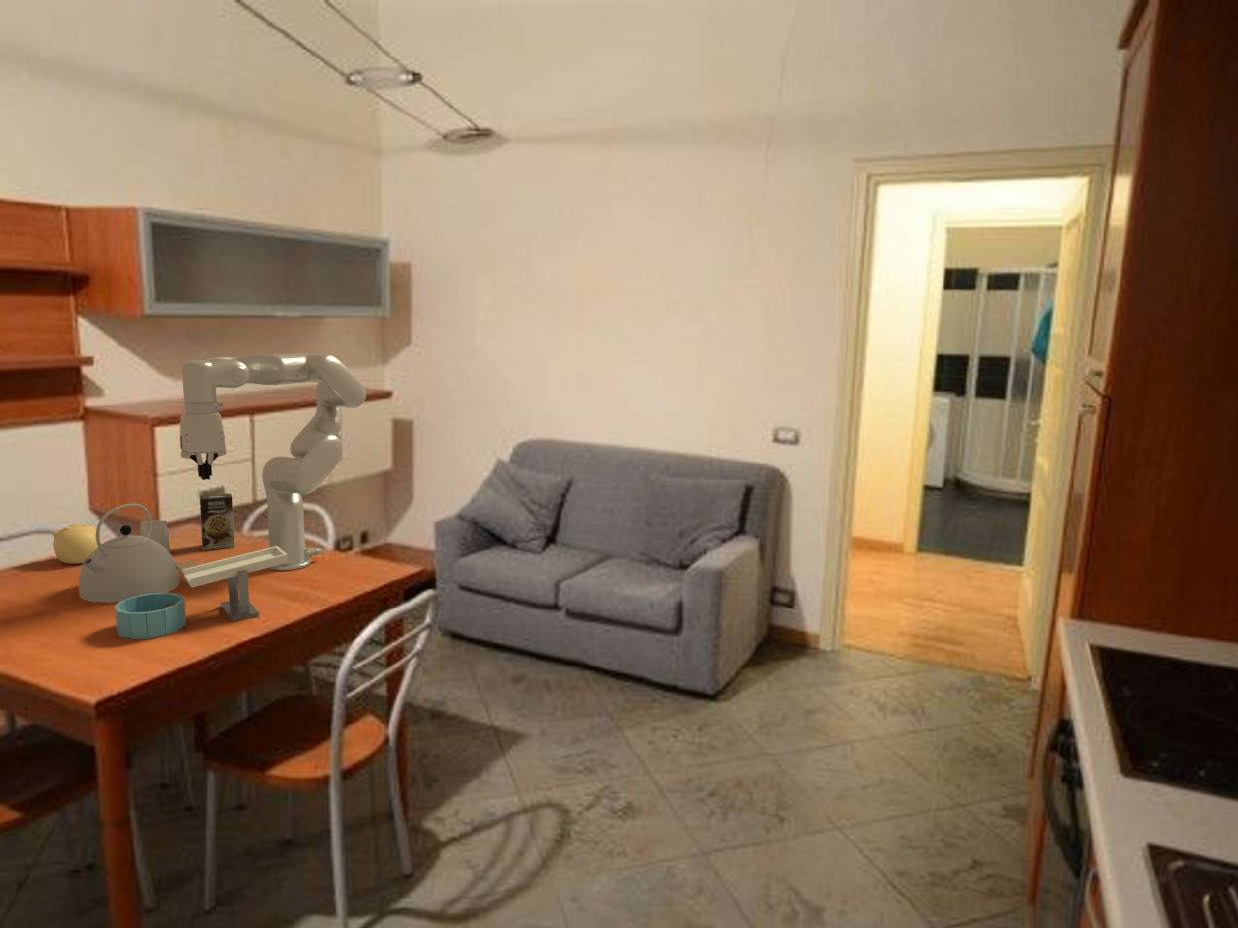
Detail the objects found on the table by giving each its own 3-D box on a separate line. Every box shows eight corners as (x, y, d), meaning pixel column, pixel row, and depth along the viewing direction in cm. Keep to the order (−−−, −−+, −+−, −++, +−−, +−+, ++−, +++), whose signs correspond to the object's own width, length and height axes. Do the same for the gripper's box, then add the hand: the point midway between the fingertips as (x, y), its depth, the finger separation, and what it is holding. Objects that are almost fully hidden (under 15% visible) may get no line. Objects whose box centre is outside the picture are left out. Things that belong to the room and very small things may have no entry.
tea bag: (166, 554, 247) (164, 522, 246) (141, 555, 246) (138, 523, 244) (169, 551, 251) (167, 519, 249) (144, 552, 249) (142, 519, 247)
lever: (268, 549, 219) (266, 537, 218) (289, 567, 205) (287, 554, 204) (177, 572, 206) (174, 559, 206) (193, 592, 192) (190, 579, 191)
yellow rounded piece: (98, 552, 247) (95, 517, 245) (106, 562, 238) (103, 526, 236) (52, 559, 240) (48, 523, 238) (59, 569, 231) (55, 532, 229)
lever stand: (246, 601, 210) (243, 558, 208) (259, 616, 201) (256, 570, 199) (220, 606, 206) (217, 562, 204) (232, 621, 197) (229, 574, 195)
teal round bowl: (178, 612, 201) (176, 589, 200) (190, 630, 191) (188, 605, 190) (113, 624, 193) (111, 599, 192) (122, 643, 183) (120, 617, 182)
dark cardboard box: (202, 550, 252) (199, 499, 249) (202, 545, 258) (198, 494, 255) (235, 547, 256) (232, 496, 253) (234, 542, 262) (231, 492, 259)
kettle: (127, 610, 202) (119, 521, 198) (49, 601, 207) (40, 513, 203) (198, 579, 227) (193, 498, 222) (127, 571, 231) (120, 492, 227)
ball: (178, 615, 197) (174, 599, 196) (181, 620, 194) (178, 604, 193) (159, 620, 195) (156, 605, 194) (163, 626, 192) (159, 610, 191)
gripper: (228, 406, 220) (232, 473, 224) (165, 408, 211) (170, 479, 215) (235, 409, 215) (239, 478, 218) (171, 412, 206) (176, 484, 209)
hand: (205, 478), depth 216 cm, fingers closed
